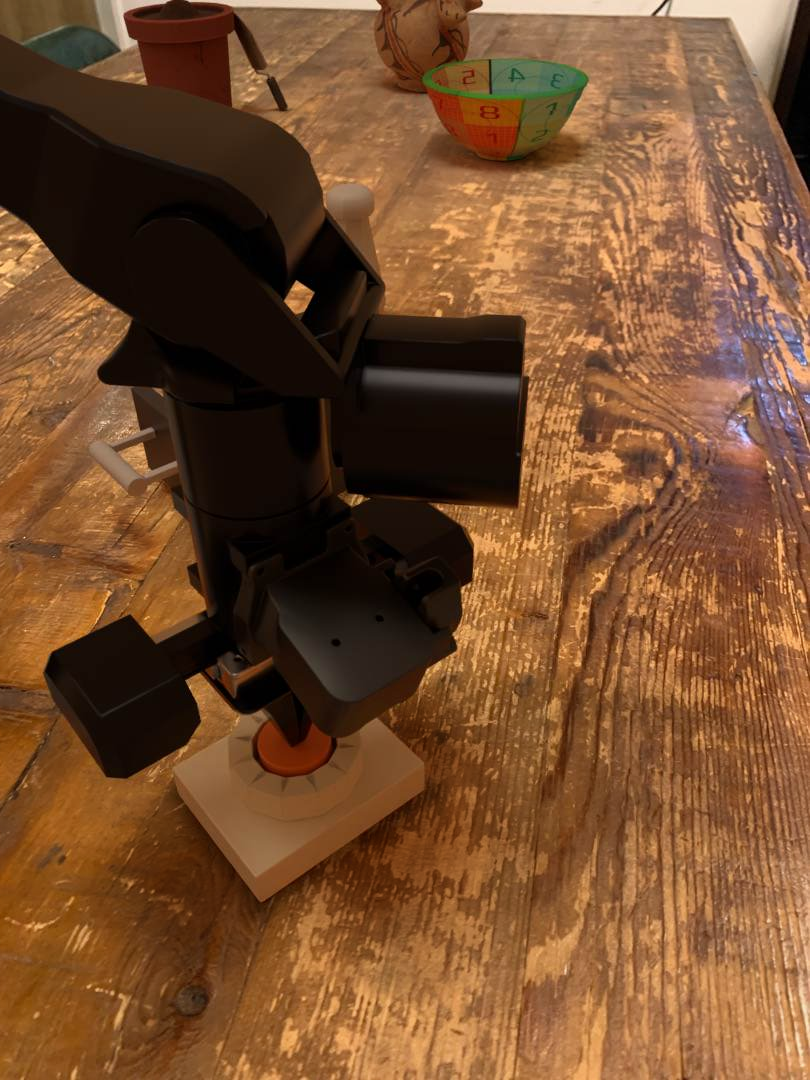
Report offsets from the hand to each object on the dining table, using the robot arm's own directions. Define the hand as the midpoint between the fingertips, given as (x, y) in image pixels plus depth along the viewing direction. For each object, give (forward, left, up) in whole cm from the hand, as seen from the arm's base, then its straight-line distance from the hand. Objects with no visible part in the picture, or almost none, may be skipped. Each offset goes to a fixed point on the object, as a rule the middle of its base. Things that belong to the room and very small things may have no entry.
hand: (293, 738), depth 46 cm
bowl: (+83, +72, -4) cm, 110 cm away
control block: (0, 0, -4) cm, 4 cm away
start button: (0, 0, -2) cm, 2 cm away
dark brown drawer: (+11, +26, -3) cm, 29 cm away
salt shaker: (+35, +42, -4) cm, 55 cm away
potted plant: (+60, +112, -4) cm, 127 cm away
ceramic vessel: (+100, +108, -4) cm, 147 cm away
